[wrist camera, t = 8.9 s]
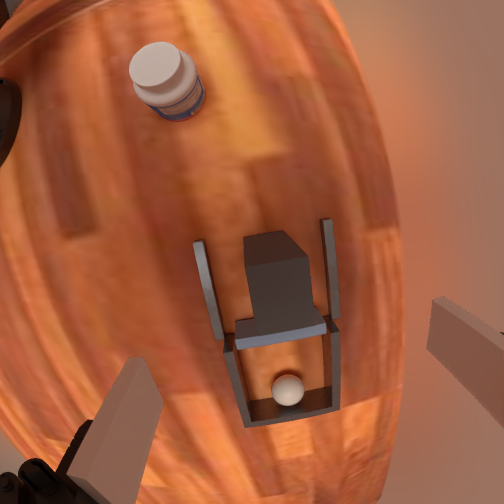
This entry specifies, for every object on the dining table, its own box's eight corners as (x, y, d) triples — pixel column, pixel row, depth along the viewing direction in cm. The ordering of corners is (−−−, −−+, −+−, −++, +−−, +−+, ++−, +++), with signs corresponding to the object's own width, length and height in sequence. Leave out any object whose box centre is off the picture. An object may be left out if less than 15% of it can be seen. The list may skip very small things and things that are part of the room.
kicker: (219, 241, 28) (205, 273, 17) (307, 226, 28) (345, 249, 17) (237, 330, 30) (236, 395, 20) (316, 316, 30) (349, 374, 20)
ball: (269, 379, 34) (268, 375, 30) (300, 374, 34) (302, 369, 30) (274, 408, 31) (273, 407, 28) (305, 402, 31) (308, 401, 28)
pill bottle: (151, 86, 24) (115, 49, 15) (199, 70, 24) (182, 23, 15) (161, 130, 26) (125, 105, 16) (211, 113, 26) (197, 78, 16)
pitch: (194, 240, 28) (187, 249, 24) (328, 218, 28) (341, 222, 24) (236, 408, 34) (236, 428, 30) (338, 388, 33) (347, 407, 30)
